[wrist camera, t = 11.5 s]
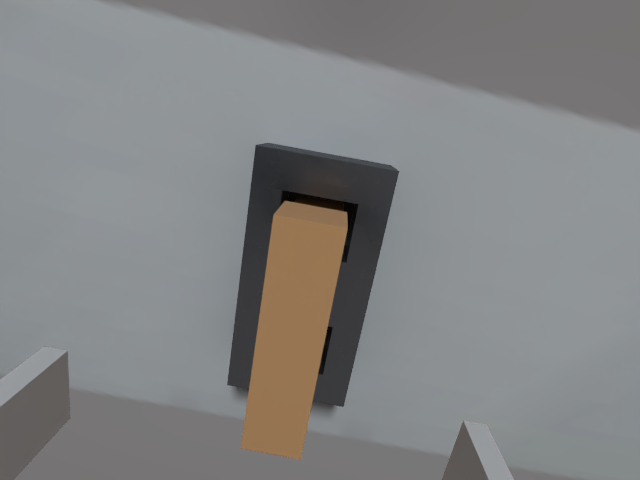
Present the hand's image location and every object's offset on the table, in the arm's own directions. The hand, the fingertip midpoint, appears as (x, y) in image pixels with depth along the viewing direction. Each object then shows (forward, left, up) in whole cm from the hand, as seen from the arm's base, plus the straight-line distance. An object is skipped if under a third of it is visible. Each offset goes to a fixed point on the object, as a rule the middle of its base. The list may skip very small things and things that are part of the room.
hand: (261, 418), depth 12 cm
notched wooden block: (0, 0, -14) cm, 14 cm away
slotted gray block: (0, 0, -14) cm, 14 cm away
